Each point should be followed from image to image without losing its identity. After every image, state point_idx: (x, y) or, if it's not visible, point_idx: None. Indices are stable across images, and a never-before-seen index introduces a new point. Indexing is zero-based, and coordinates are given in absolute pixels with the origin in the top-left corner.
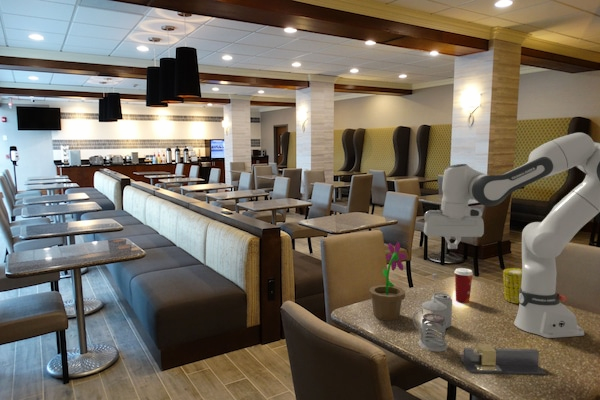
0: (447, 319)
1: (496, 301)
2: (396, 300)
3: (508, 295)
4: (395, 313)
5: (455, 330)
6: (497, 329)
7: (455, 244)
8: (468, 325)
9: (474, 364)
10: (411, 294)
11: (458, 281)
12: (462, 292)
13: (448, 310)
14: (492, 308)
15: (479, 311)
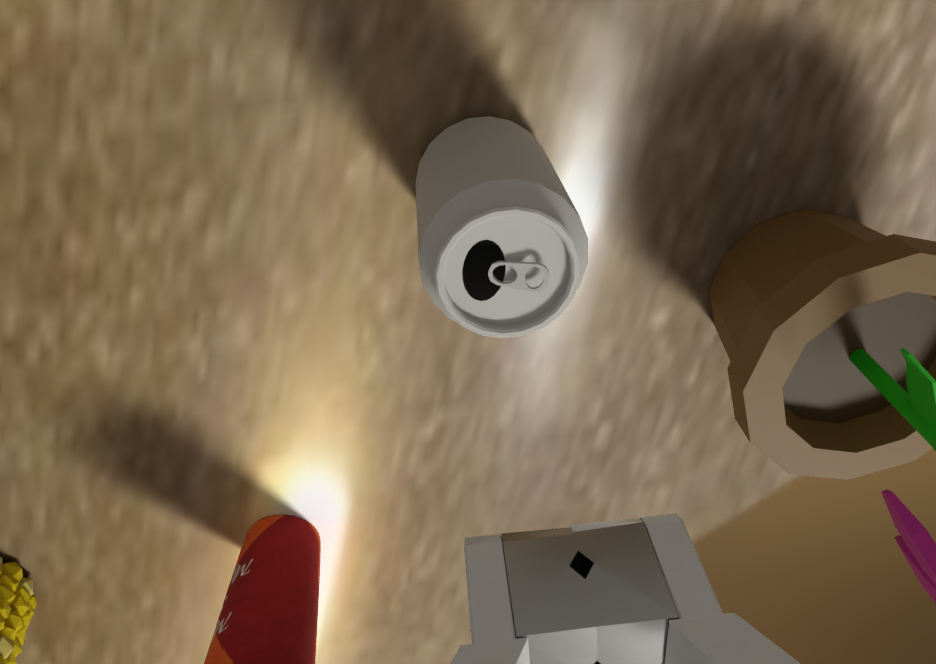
0: (457, 141)
1: (89, 562)
2: (839, 256)
3: (3, 596)
4: (777, 237)
5: (397, 110)
6: (107, 170)
7: (534, 629)
8: (296, 206)
9: None
10: None
11: (299, 630)
12: (281, 564)
13: (456, 167)
14: (118, 472)
15: (201, 422)
